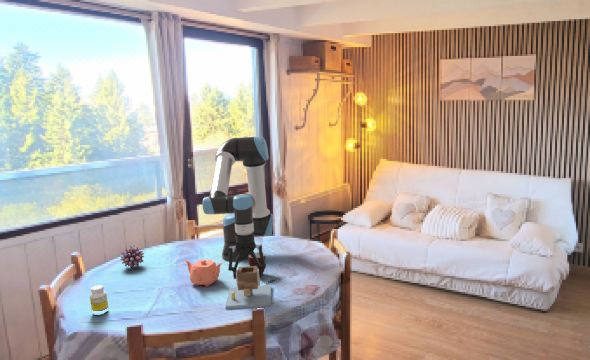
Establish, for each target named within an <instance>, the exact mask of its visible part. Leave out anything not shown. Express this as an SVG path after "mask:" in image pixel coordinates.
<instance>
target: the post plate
mask: <svg viewBox="0 0 590 360" xmlns="http://www.w3.org/2000/svg"><path fill="white" fill-rule="evenodd" d="M271 297H272V285H270V284H268V285H265V284H264V285H260V286H258V289H251V293H250V296H244V290H238V287H237V286H236V287H229V290H228V295H227V299H226V301H225V302H226V303H225V309H226V310H229V309H231V310H232V309H247V308H260V307H261V308H263V307H271V306H272V305H271V303H272V302H271V301H272V298H271Z"/></svg>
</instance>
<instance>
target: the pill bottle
mask: <svg viewBox="0 0 590 360" xmlns="http://www.w3.org/2000/svg"><path fill="white" fill-rule="evenodd" d="M90 292H91V293H90V294H89V300H90V306H91V307H90V308H91V311H92V310H93V311H103V310H105V309H107V308H108V309H109V303H108V296H107V295H108V293H107V291H106V290H105V288H104V285H102V284H97V285H94V286H92V287H91V288H90Z"/></svg>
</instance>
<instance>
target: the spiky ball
mask: <svg viewBox="0 0 590 360" xmlns="http://www.w3.org/2000/svg"><path fill="white" fill-rule="evenodd" d="M121 255H122V256H120V261H122V262H121V264H122V265H123V264H124V267H127V265H128V267H130V268H131V267H132V268H133V266H134V265H135V267H136V266H137V267H138V266H139V267H140V264H142V263H144V259H143V258H145V252H144V250H143V249H142V250H141V247H139V246H138V245H136V247H135V244H134V245H130V247H128V246H126V247H125V250H124V251H121Z"/></svg>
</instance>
